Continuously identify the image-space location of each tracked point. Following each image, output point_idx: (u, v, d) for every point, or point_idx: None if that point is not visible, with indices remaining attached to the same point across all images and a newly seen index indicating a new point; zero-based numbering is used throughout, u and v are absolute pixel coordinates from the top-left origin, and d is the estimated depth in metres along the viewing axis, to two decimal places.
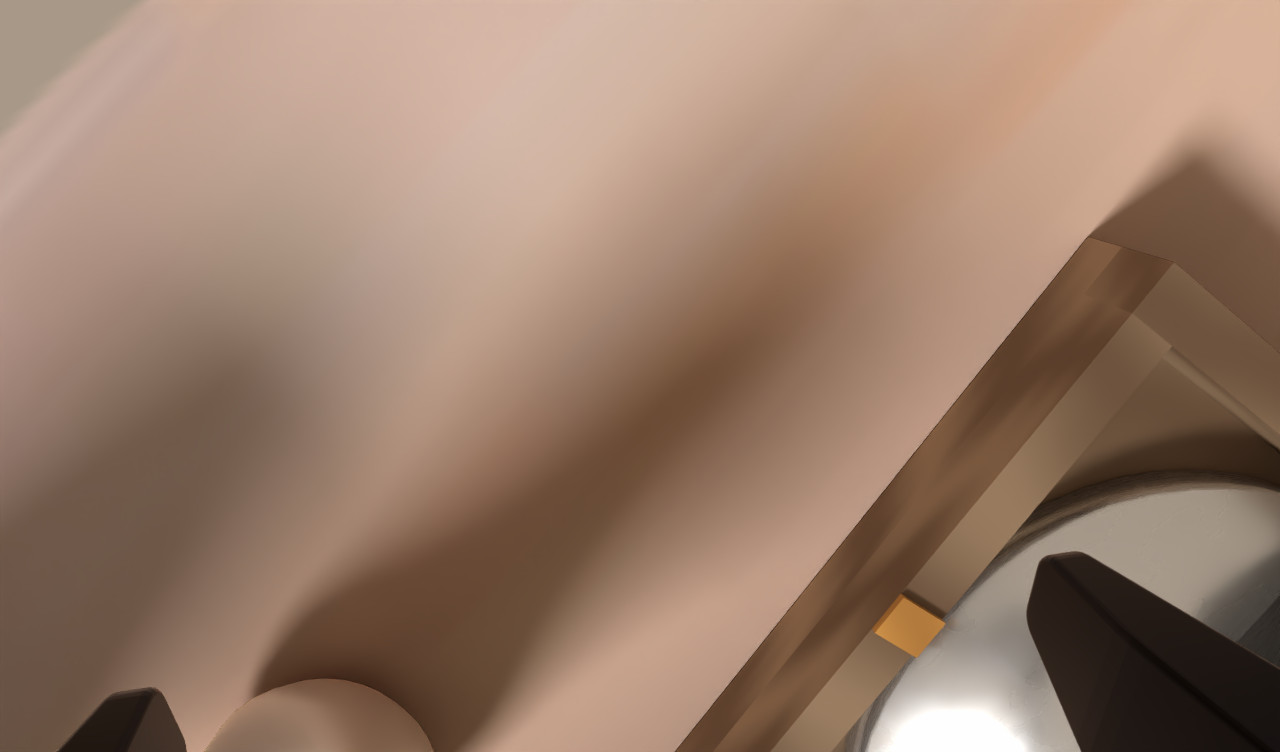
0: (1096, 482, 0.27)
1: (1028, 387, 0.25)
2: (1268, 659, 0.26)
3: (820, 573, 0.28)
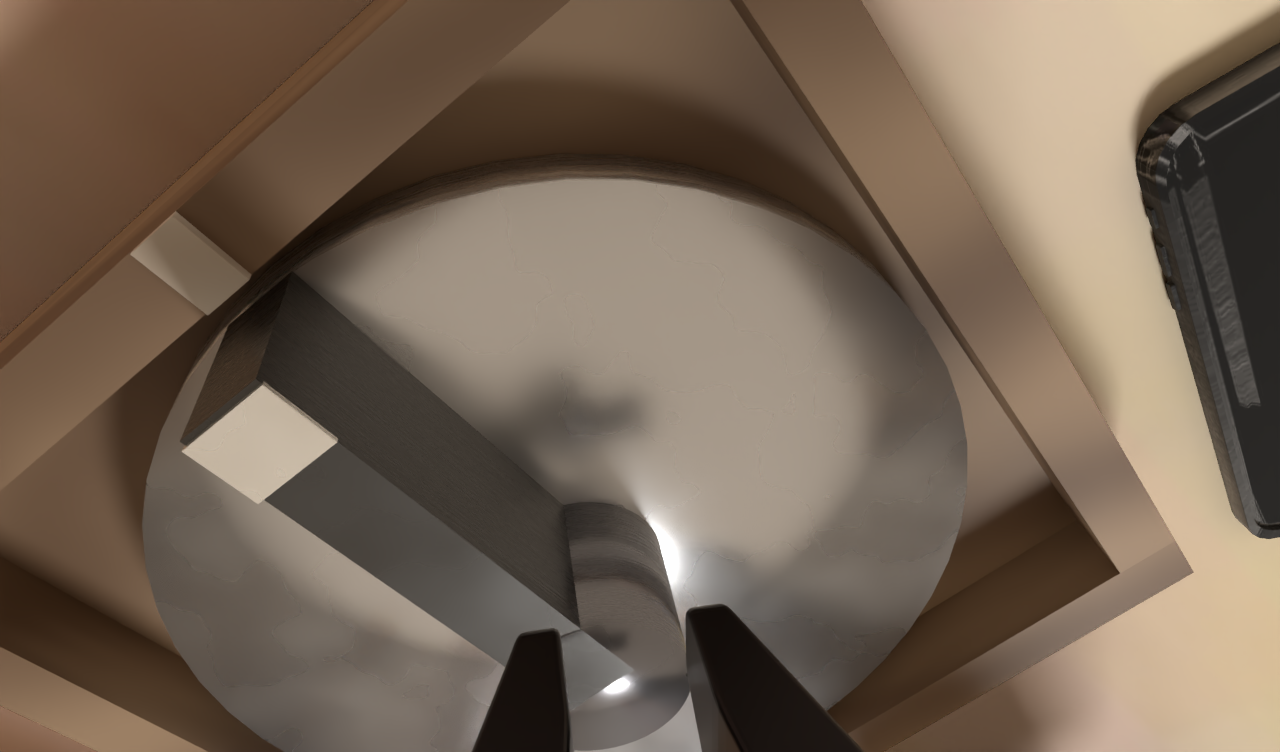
0: None
1: None
2: None
3: None
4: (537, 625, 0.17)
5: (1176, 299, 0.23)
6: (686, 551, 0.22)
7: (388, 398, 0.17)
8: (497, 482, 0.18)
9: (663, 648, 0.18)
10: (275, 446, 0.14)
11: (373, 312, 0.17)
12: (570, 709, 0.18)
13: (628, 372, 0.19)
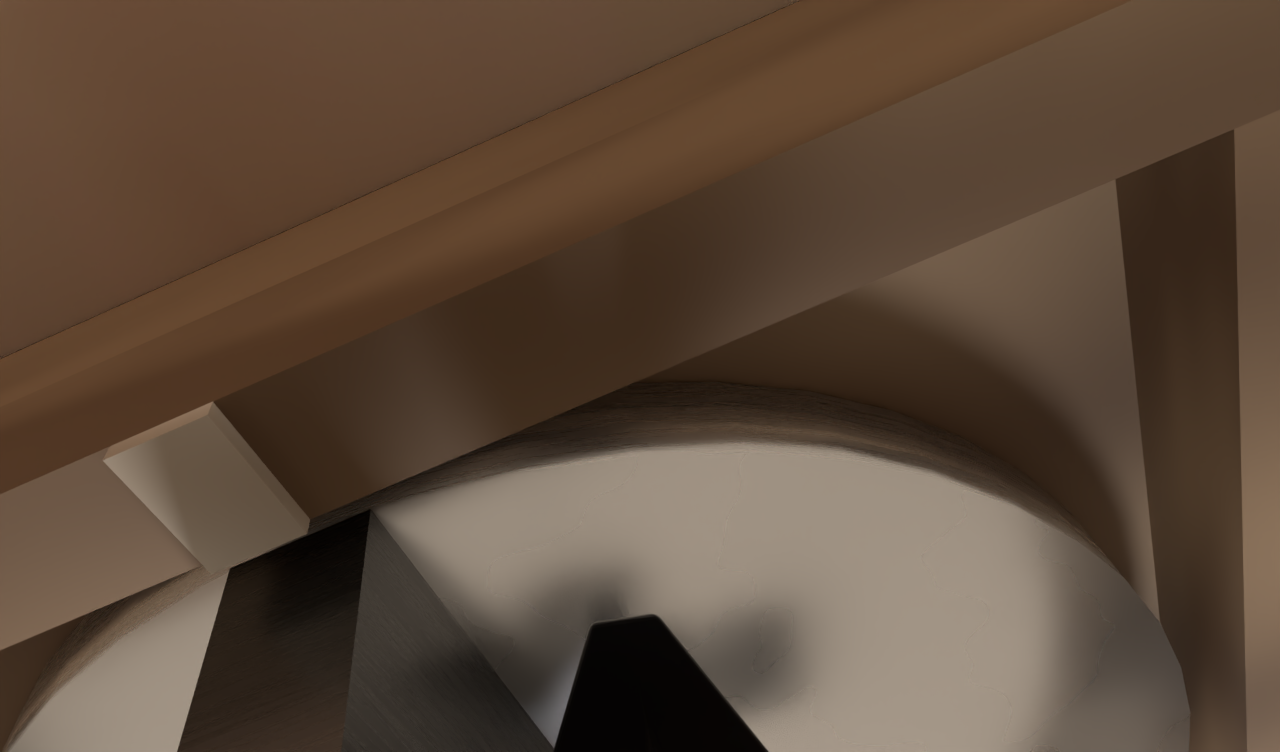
0: None
1: None
2: None
3: None
4: None
5: None
6: None
7: (482, 750, 0.10)
8: None
9: None
10: None
11: (476, 587, 0.10)
12: None
13: (804, 712, 0.12)
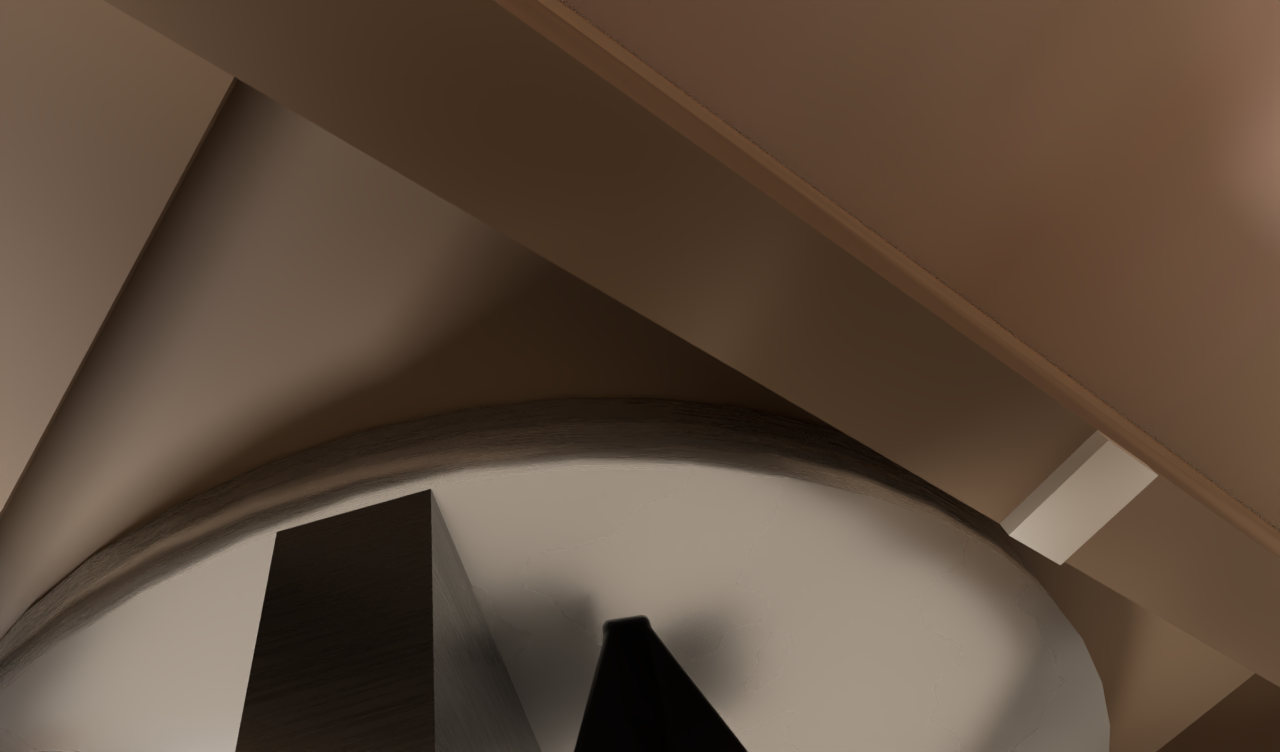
0: (346, 434, 0.11)
1: None
2: None
3: None
4: None
5: None
6: None
7: (504, 739, 0.10)
8: None
9: None
10: None
11: (509, 579, 0.11)
12: None
13: (779, 736, 0.13)
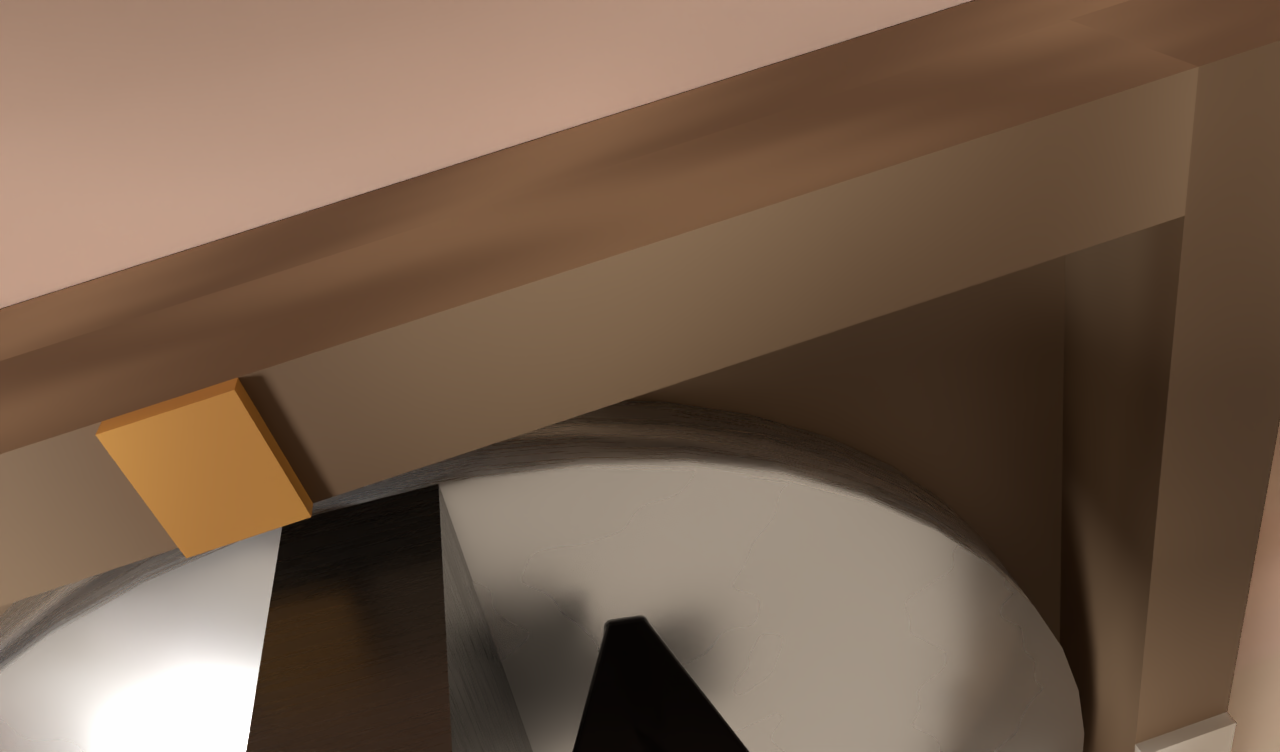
0: (799, 427, 0.12)
1: (849, 116, 0.09)
2: None
3: (147, 264, 0.11)
4: None
5: None
6: None
7: (504, 735, 0.10)
8: None
9: None
10: None
11: (511, 575, 0.11)
12: None
13: (765, 738, 0.13)
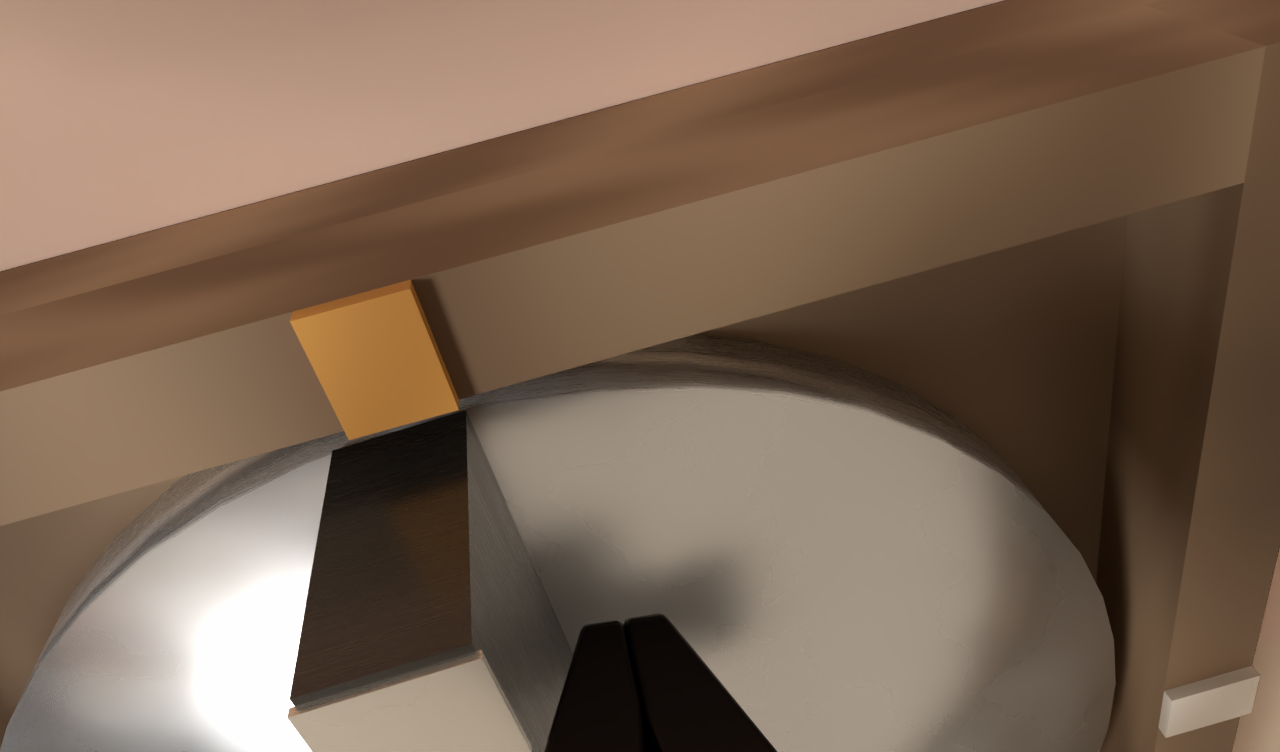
0: (871, 373, 0.14)
1: (945, 82, 0.11)
2: None
3: (300, 193, 0.12)
4: None
5: None
6: None
7: (537, 633, 0.11)
8: None
9: None
10: (439, 741, 0.08)
11: (539, 494, 0.12)
12: None
13: (794, 647, 0.14)
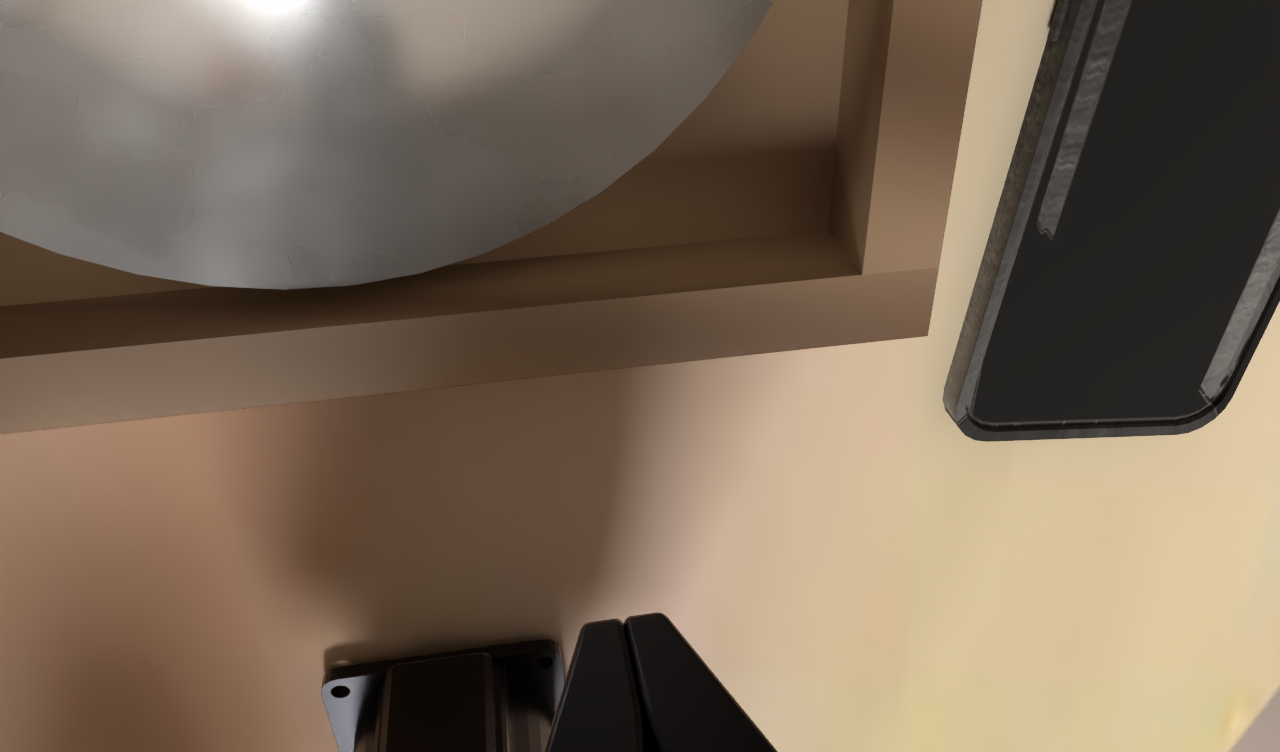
0: None
1: None
2: None
3: None
4: None
5: (1060, 21, 0.19)
6: None
7: None
8: None
9: None
10: None
11: None
12: None
13: None
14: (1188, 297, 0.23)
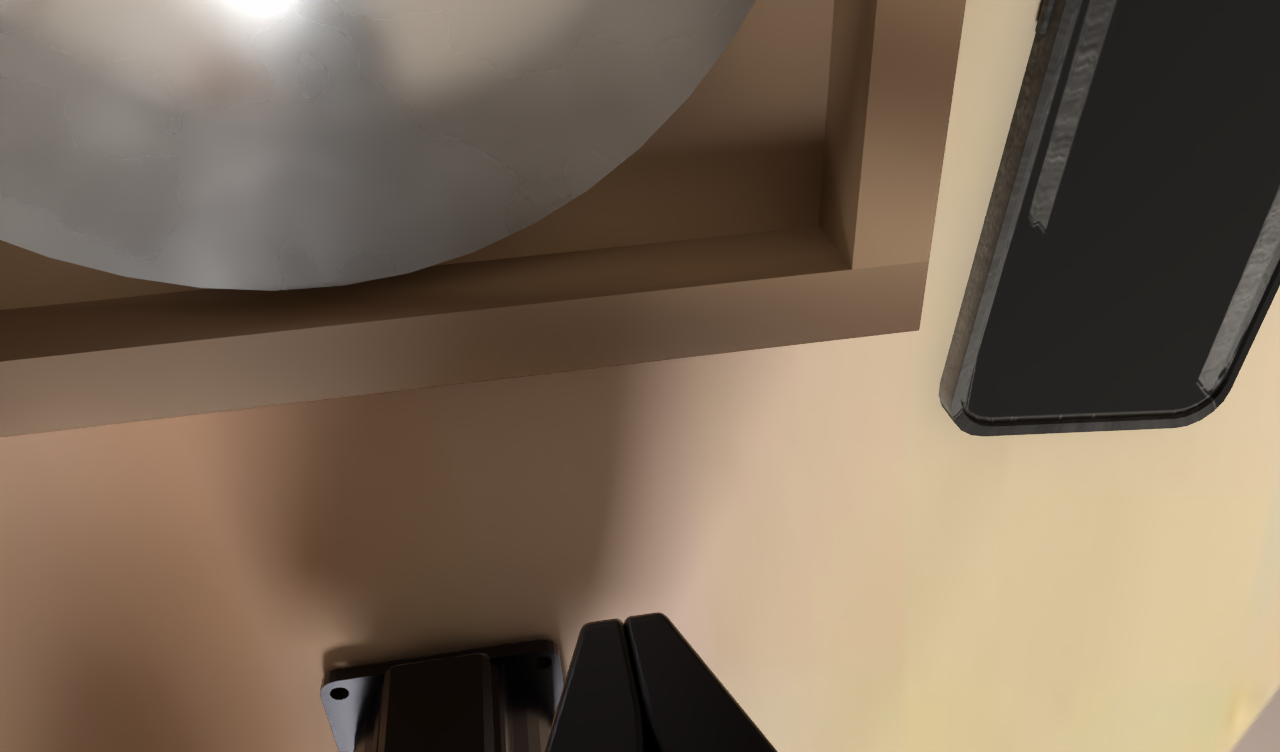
0: None
1: None
2: None
3: None
4: None
5: (1048, 14, 0.19)
6: None
7: None
8: None
9: None
10: None
11: None
12: None
13: None
14: (1183, 289, 0.23)
